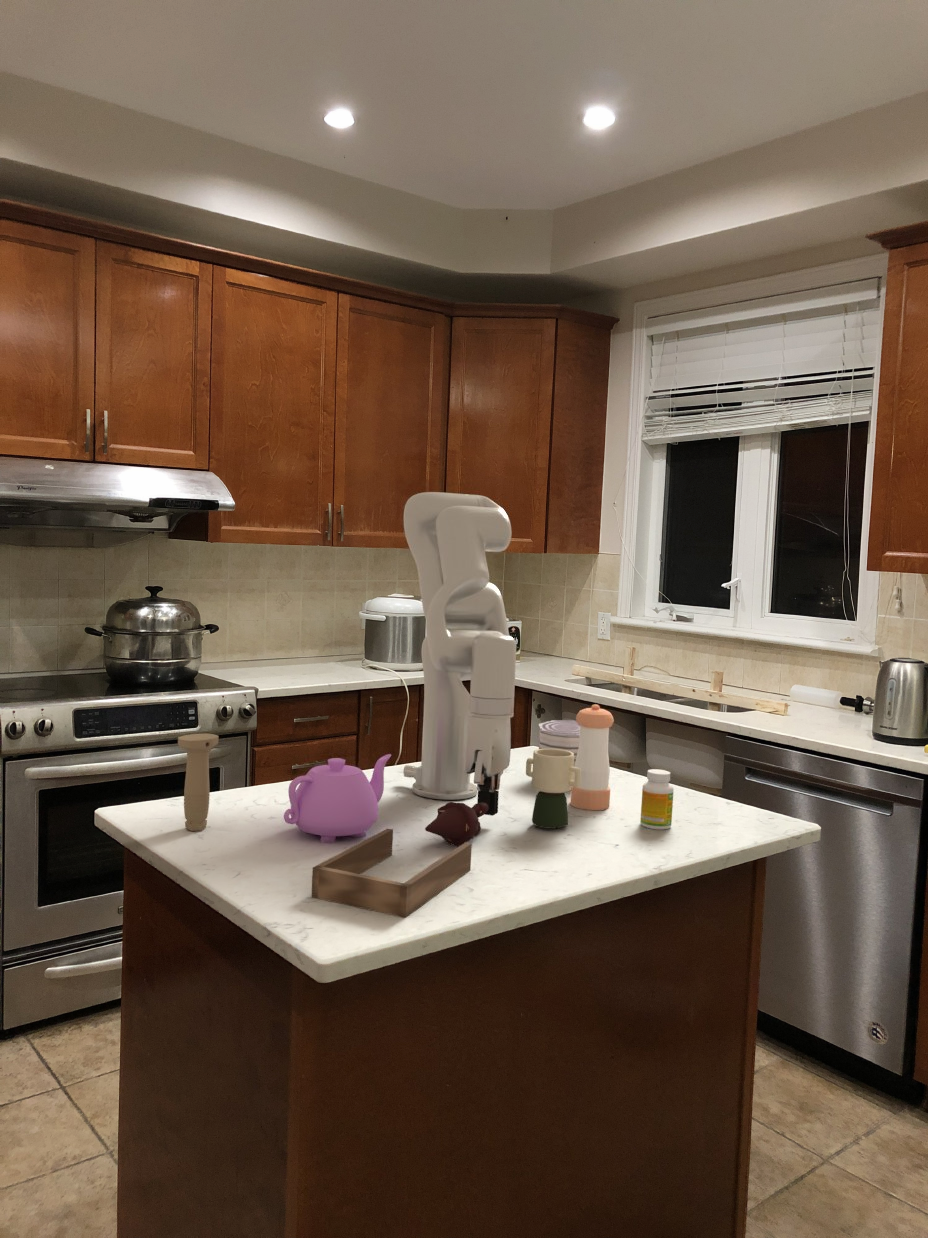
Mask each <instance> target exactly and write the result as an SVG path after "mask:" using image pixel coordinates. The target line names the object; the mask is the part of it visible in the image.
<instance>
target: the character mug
mask: <svg viewBox="0 0 928 1238" xmlns="http://www.w3.org/2000/svg"><path fill="white" fill-rule="evenodd" d="M532 757H533V758H532ZM532 757H527V758H526V761H525V762H526V763H525V775H526V776H528V777H531V787H532V788H533V789H534V790H536V791H538V792H537V794H536V796H535V801H534V805H533V810H532V817H531V823H532V824H534V825H535V826H536V827H540V828H544V829H547V828H548V829H550V828H551V829H553V828H554V829H559V828H562V827H566V826H569V812H568V811H569V809H568V800H567V797H566V796H567V795H566V794H565V793H567V792H569V791H571V788H572V786H575V787H579V785H580V778H581V770H580V769H579V768H577V767H574V753H572V752H570V751H566V750H561V749H539V748H538V749H537V748H536V749H535V750H533V753H532ZM574 773H575V781H574Z"/></svg>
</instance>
